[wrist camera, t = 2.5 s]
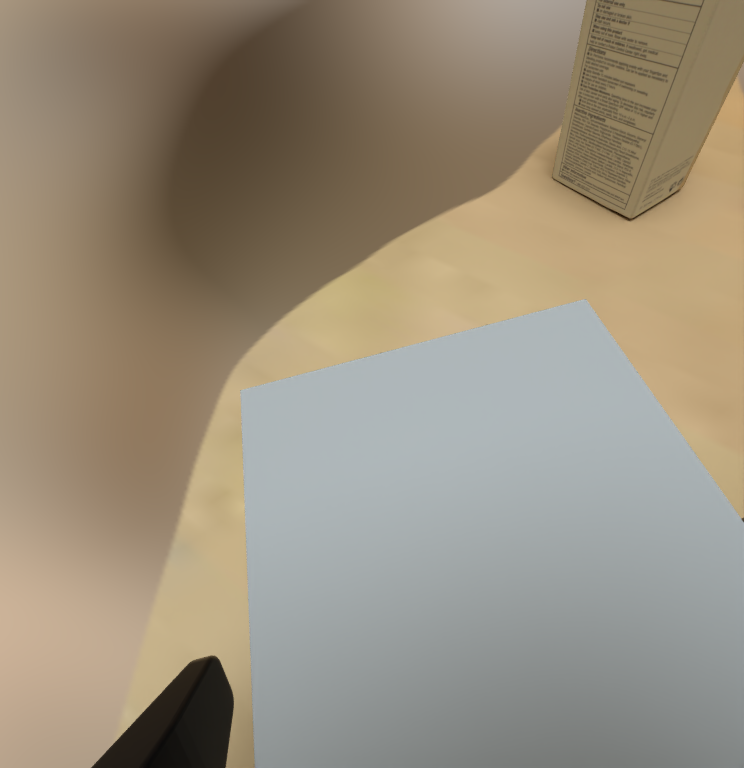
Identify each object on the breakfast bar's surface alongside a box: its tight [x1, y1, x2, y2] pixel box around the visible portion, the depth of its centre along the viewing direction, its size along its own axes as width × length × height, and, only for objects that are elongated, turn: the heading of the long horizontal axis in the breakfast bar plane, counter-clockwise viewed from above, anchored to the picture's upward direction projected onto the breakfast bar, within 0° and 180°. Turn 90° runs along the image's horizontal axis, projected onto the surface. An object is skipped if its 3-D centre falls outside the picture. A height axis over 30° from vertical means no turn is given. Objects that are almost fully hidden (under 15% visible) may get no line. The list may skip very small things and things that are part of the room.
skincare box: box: [552, 0, 744, 218], centre depth 20 cm, size 6×4×12 cm
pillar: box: [240, 299, 744, 768], centre depth 9 cm, size 5×5×12 cm
